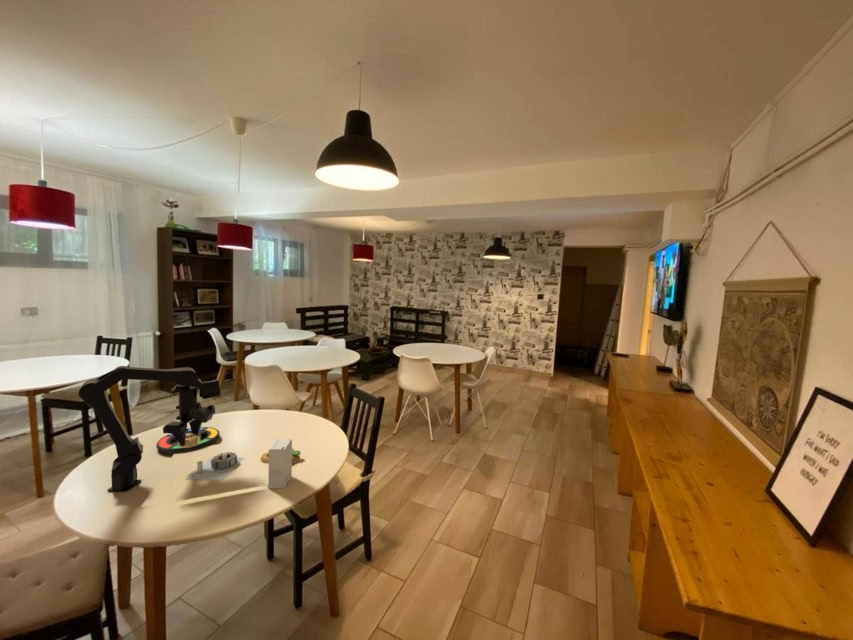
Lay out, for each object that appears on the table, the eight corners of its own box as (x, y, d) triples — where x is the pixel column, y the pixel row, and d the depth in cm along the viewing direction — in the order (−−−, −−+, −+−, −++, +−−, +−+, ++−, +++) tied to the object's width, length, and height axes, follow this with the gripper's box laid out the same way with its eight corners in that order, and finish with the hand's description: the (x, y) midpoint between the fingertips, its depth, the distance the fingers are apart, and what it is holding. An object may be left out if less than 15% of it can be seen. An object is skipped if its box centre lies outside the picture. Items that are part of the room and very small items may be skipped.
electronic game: (231, 434, 160) (230, 425, 160) (193, 458, 137) (192, 447, 137) (186, 431, 162) (186, 421, 162) (141, 454, 140) (141, 443, 139)
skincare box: (276, 476, 126) (275, 438, 125) (292, 475, 127) (292, 437, 125) (267, 489, 118) (267, 448, 116) (285, 489, 118) (285, 448, 117)
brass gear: (192, 448, 125) (192, 440, 125) (174, 448, 125) (173, 440, 124) (204, 440, 132) (204, 432, 131) (186, 440, 131) (186, 432, 131)
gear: (235, 467, 129) (235, 460, 128) (209, 472, 125) (209, 464, 125) (238, 457, 137) (238, 450, 136) (213, 461, 133) (213, 453, 133)
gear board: (221, 483, 121) (221, 469, 120) (185, 482, 120) (184, 468, 120) (244, 460, 137) (244, 448, 136) (212, 459, 136) (212, 447, 136)
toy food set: (256, 463, 135) (256, 455, 135) (284, 450, 147) (284, 442, 147) (279, 472, 129) (279, 464, 129) (306, 458, 141) (306, 450, 140)
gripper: (193, 410, 118) (195, 453, 119) (224, 394, 136) (225, 431, 138) (160, 410, 117) (162, 453, 119) (195, 393, 136) (197, 431, 137)
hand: (189, 441), depth 128 cm, fingers closed on brass gear, 7 cm apart
